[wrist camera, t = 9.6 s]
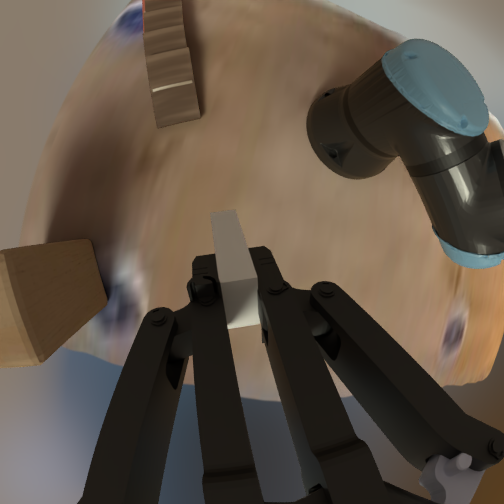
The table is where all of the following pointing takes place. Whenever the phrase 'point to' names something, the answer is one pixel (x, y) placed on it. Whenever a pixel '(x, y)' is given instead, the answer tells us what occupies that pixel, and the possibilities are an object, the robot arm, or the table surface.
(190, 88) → the tile
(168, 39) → the tile
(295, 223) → the table surface
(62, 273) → the wooden block
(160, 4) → the tile
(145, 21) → the tile
